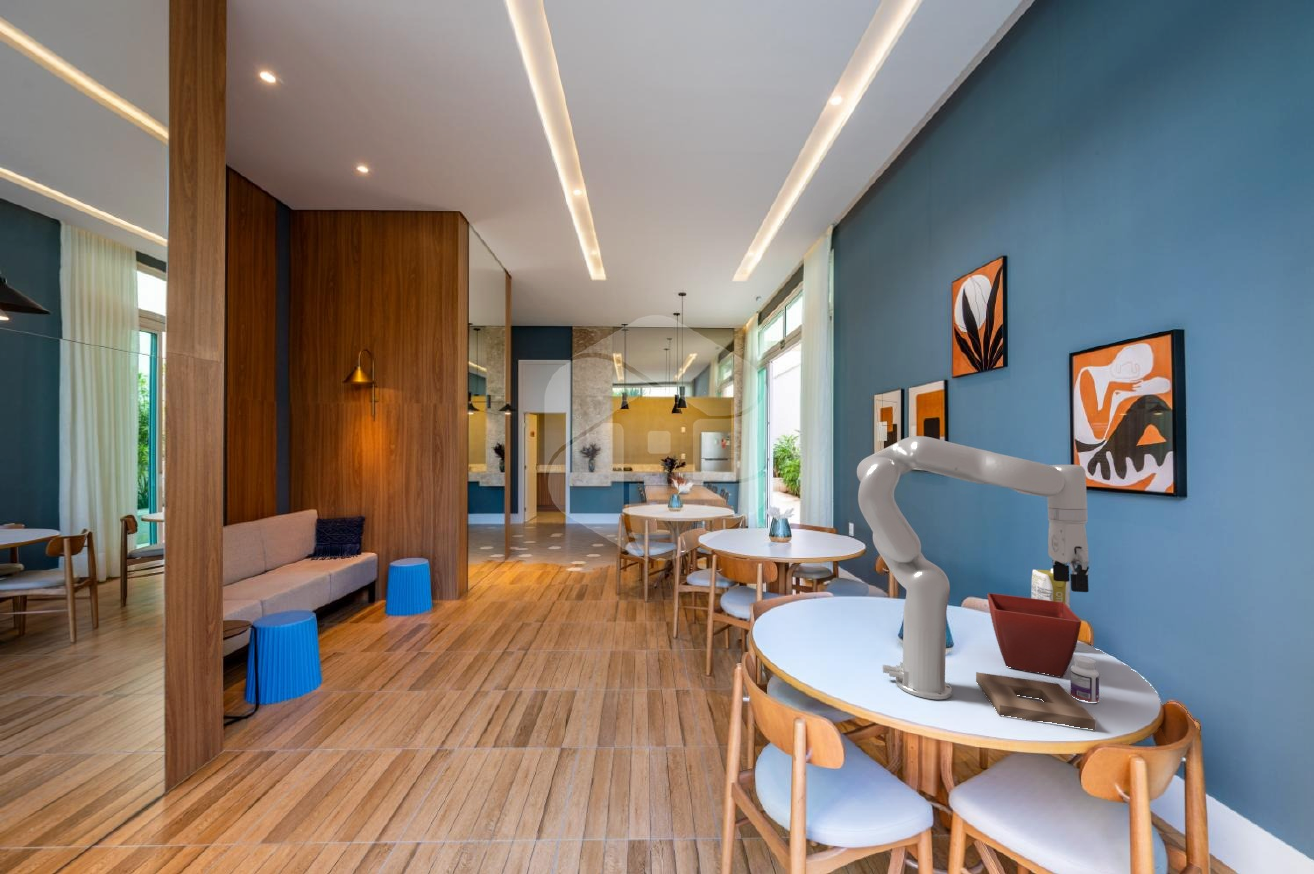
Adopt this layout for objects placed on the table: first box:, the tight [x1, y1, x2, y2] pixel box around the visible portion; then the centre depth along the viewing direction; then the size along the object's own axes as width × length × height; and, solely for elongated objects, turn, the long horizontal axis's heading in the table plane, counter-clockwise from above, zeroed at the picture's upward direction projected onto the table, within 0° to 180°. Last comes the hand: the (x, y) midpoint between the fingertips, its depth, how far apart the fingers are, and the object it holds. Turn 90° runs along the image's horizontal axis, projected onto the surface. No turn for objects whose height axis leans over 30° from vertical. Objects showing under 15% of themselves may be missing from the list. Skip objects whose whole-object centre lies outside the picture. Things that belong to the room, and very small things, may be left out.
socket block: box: [975, 671, 1097, 732], centre depth 122 cm, size 18×18×2 cm
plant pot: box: [987, 592, 1082, 678], centre depth 145 cm, size 19×19×17 cm
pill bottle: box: [1070, 655, 1100, 702], centre depth 125 cm, size 5×5×10 cm
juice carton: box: [1030, 567, 1071, 608], centre depth 160 cm, size 9×8×24 cm
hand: (1070, 586), depth 124 cm, fingers open, 9 cm apart
